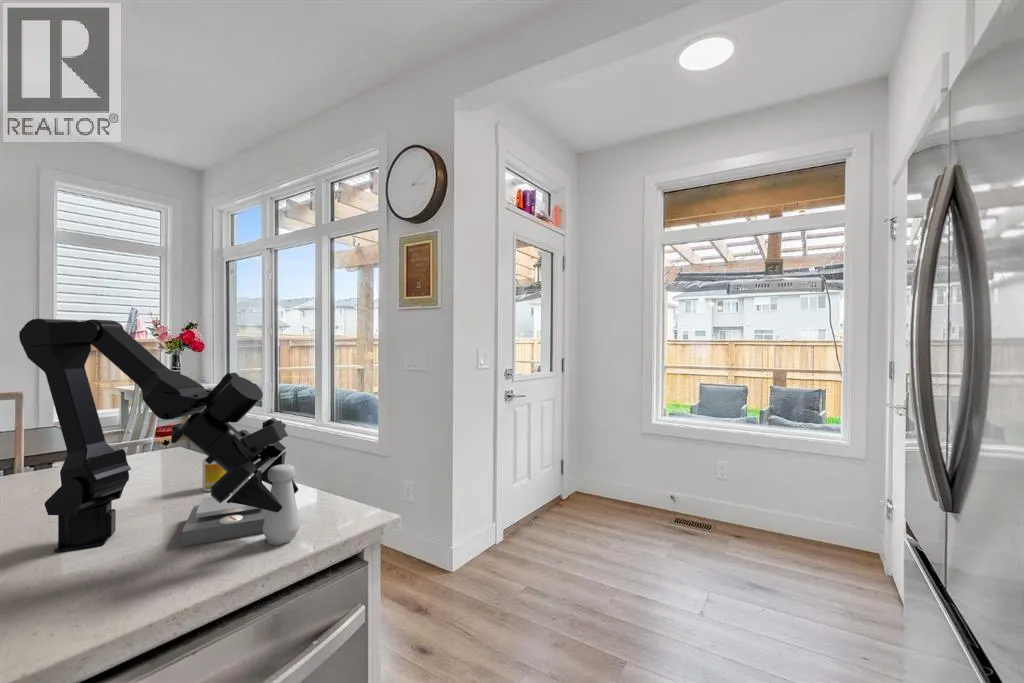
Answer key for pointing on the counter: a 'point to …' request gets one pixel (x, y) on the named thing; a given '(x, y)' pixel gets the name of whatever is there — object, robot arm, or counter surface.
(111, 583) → the counter surface
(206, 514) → the scale pan
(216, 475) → the supplement bottle
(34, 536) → the counter surface
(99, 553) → the counter surface
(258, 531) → the scale
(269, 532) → the salt shaker
